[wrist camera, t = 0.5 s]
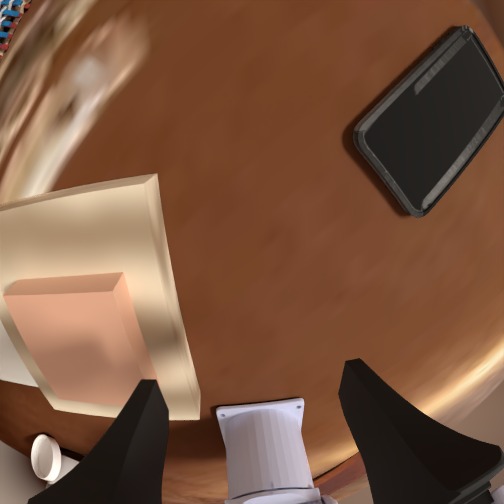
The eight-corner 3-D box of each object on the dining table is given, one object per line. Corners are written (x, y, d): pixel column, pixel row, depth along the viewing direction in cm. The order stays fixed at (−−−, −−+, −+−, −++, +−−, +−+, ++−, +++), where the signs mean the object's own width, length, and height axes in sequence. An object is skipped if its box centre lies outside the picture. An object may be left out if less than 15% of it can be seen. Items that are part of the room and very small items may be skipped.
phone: (512, 102, 14) (417, 224, 18) (503, 101, 15) (409, 219, 19) (466, 19, 12) (349, 134, 15) (457, 22, 13) (342, 133, 16)
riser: (200, 392, 23) (199, 419, 21) (64, 386, 22) (54, 409, 20) (157, 173, 16) (143, 183, 13) (-11, 208, 15) (-36, 221, 12)
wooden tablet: (313, 497, 42) (314, 504, 40) (272, 496, 39) (273, 504, 37) (425, 427, 34) (429, 434, 32) (392, 422, 31) (397, 431, 29)
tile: (160, 385, 19) (156, 407, 17) (66, 380, 18) (58, 399, 16) (123, 271, 15) (112, 291, 13) (18, 279, 14) (2, 295, 13)
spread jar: (95, 477, 32) (86, 533, 22) (34, 447, 29) (16, 502, 18) (115, 460, 29) (103, 531, 18) (39, 423, 26) (14, 493, 15)
